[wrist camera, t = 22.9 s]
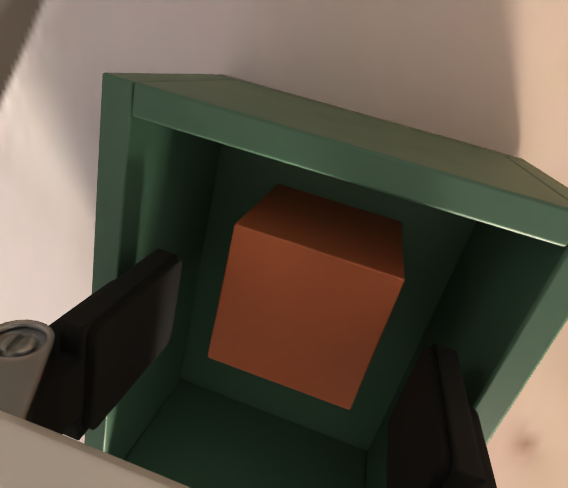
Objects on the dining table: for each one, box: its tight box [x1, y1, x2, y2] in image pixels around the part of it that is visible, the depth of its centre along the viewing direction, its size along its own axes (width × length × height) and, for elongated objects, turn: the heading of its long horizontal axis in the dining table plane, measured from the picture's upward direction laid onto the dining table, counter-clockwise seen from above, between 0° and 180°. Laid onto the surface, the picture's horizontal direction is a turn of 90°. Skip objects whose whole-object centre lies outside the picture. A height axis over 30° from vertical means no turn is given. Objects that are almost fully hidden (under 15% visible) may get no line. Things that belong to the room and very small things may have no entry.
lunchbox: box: [85, 73, 568, 488], centre depth 15 cm, size 16×12×7 cm
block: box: [208, 184, 405, 410], centre depth 15 cm, size 5×5×5 cm
